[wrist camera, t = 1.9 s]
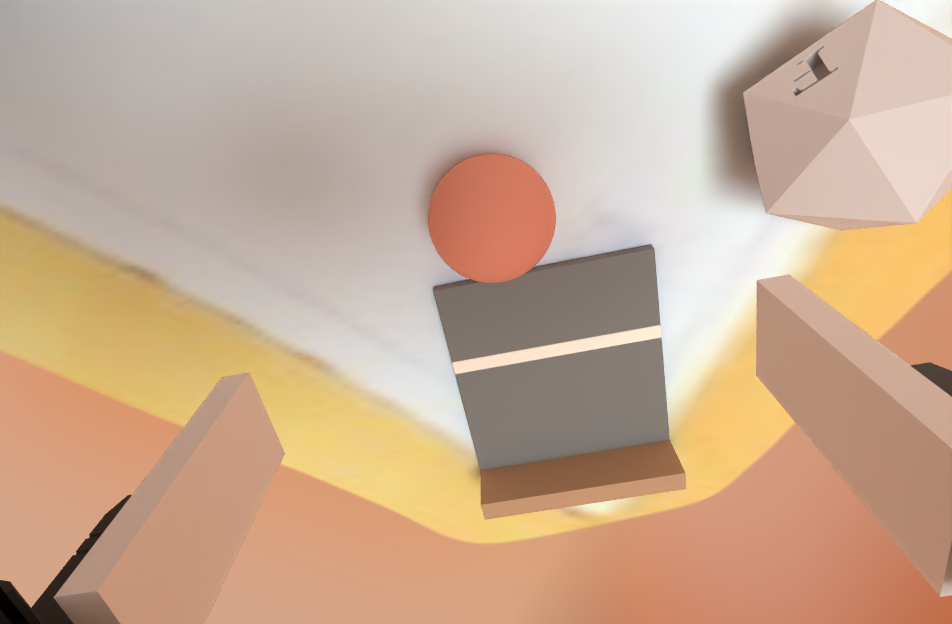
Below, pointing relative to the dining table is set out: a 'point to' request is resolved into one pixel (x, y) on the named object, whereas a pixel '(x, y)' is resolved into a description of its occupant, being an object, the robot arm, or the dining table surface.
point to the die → (857, 124)
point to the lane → (564, 383)
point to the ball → (491, 218)
